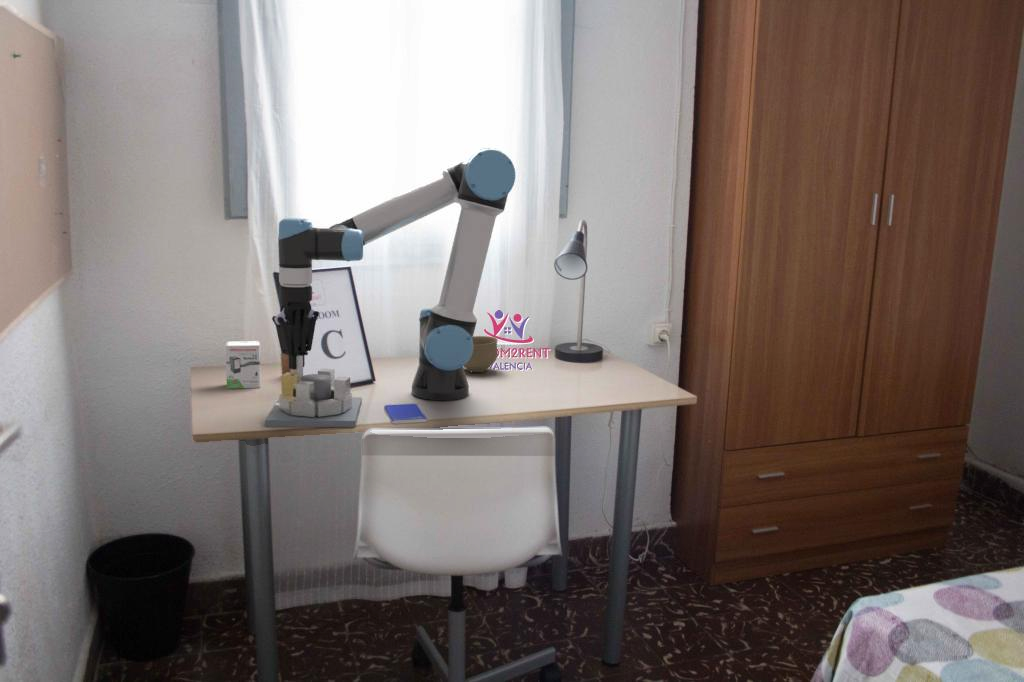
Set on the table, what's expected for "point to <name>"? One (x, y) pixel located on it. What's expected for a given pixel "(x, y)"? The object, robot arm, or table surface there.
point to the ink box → (243, 364)
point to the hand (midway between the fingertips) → (296, 381)
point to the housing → (338, 420)
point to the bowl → (482, 353)
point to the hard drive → (405, 413)
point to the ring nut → (301, 396)
